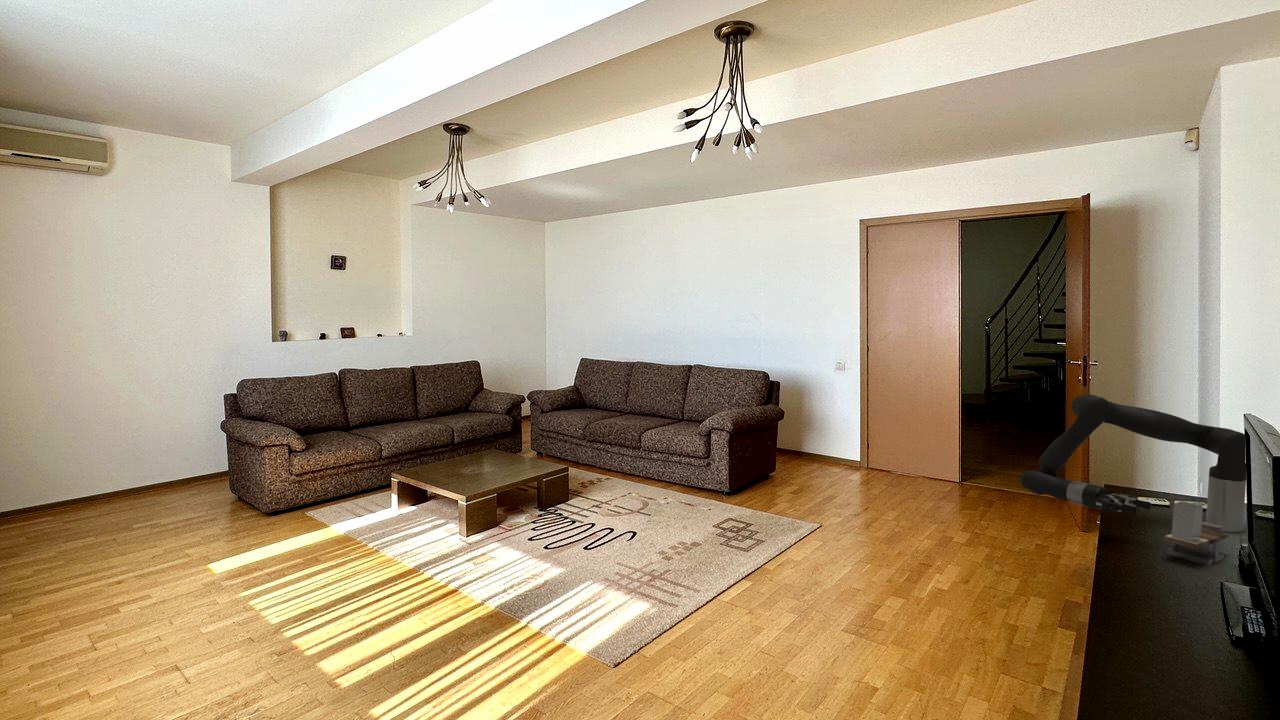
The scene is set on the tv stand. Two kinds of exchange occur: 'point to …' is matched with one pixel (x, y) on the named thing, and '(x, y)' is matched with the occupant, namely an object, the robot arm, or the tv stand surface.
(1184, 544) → the balance beam
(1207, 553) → the pivot stand
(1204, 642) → the tv stand surface
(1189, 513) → the weight block
